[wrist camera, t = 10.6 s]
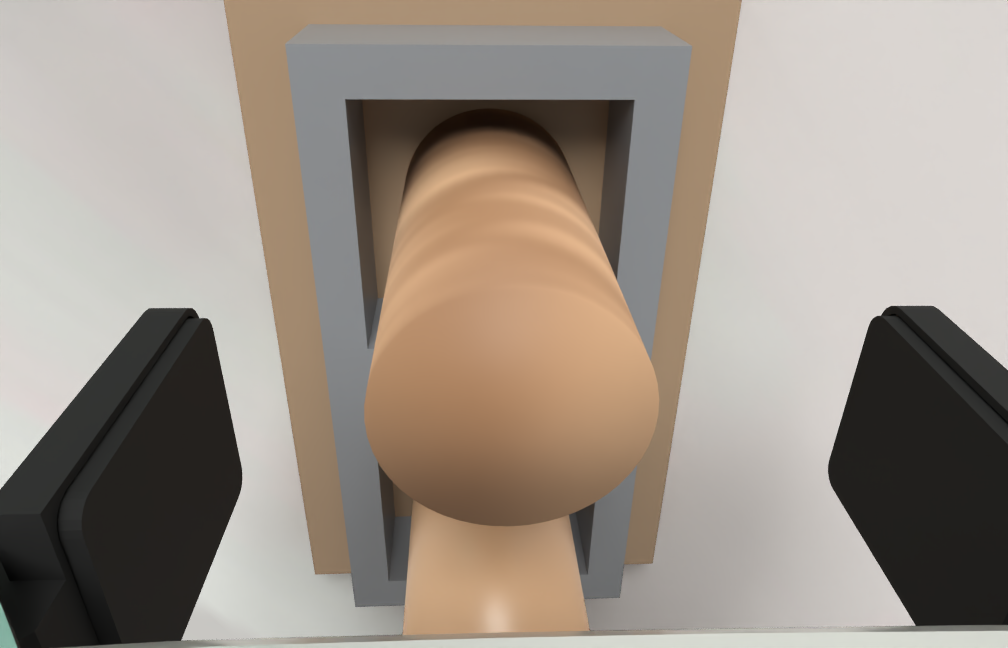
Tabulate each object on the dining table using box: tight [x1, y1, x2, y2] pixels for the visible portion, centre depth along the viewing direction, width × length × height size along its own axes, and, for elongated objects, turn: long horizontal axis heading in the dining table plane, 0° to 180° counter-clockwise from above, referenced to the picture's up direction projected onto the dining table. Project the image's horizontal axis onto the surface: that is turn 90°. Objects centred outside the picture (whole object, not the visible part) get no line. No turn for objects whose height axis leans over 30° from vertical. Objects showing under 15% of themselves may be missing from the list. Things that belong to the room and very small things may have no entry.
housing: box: [224, 0, 742, 635], centre depth 16 cm, size 11×18×10 cm, turn 179°
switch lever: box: [364, 108, 659, 526], centre depth 14 cm, size 4×4×9 cm
